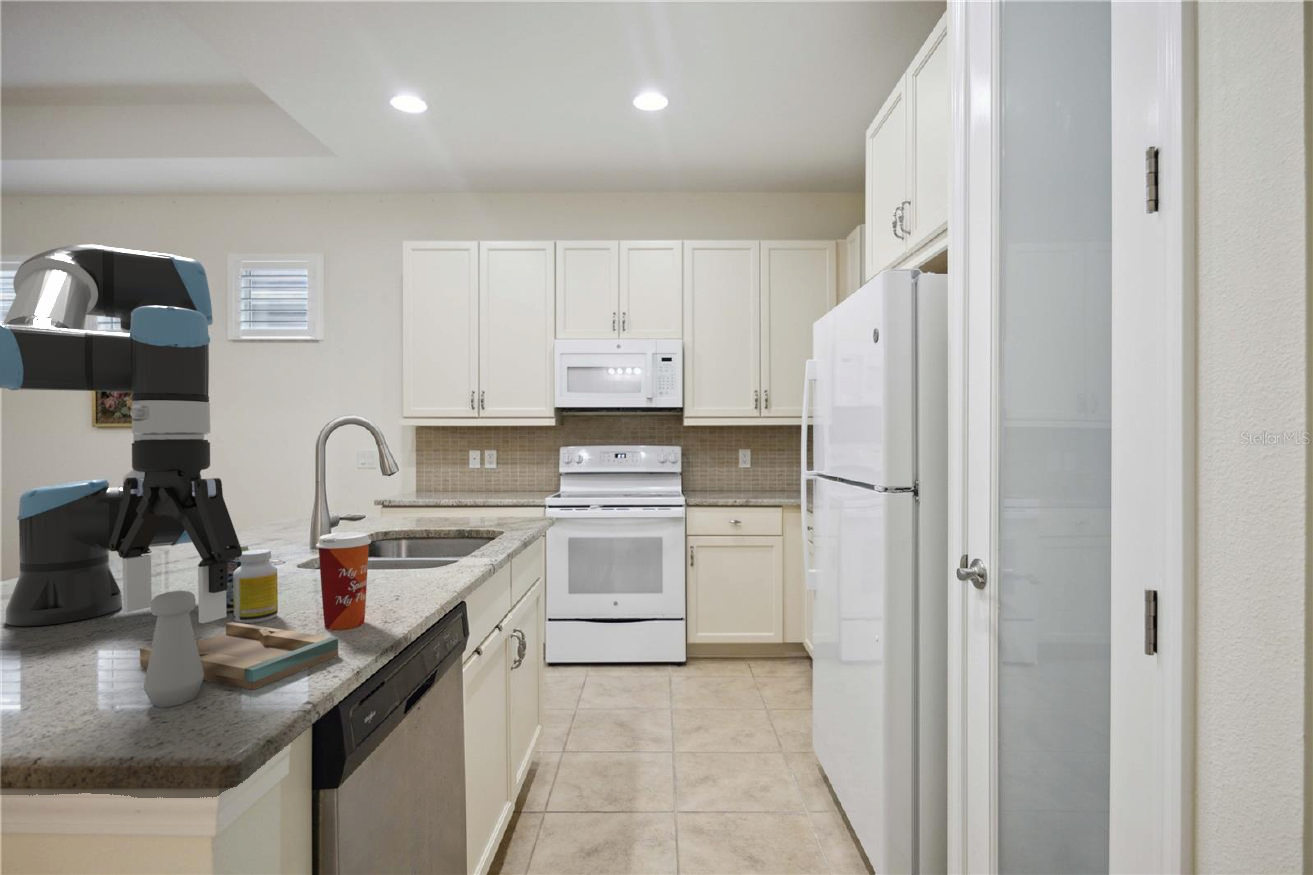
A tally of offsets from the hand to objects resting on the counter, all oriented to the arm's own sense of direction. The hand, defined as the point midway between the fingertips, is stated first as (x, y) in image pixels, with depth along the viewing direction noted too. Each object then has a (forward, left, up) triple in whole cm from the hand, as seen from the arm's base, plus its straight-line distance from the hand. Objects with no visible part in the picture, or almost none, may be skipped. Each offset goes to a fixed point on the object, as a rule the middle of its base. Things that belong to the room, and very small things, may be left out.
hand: (174, 614), depth 77 cm
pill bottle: (-22, +27, -11) cm, 37 cm away
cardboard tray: (-5, +12, -10) cm, 17 cm away
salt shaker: (0, 0, -11) cm, 11 cm away
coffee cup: (-5, +30, -11) cm, 32 cm away
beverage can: (-32, +29, -11) cm, 45 cm away
